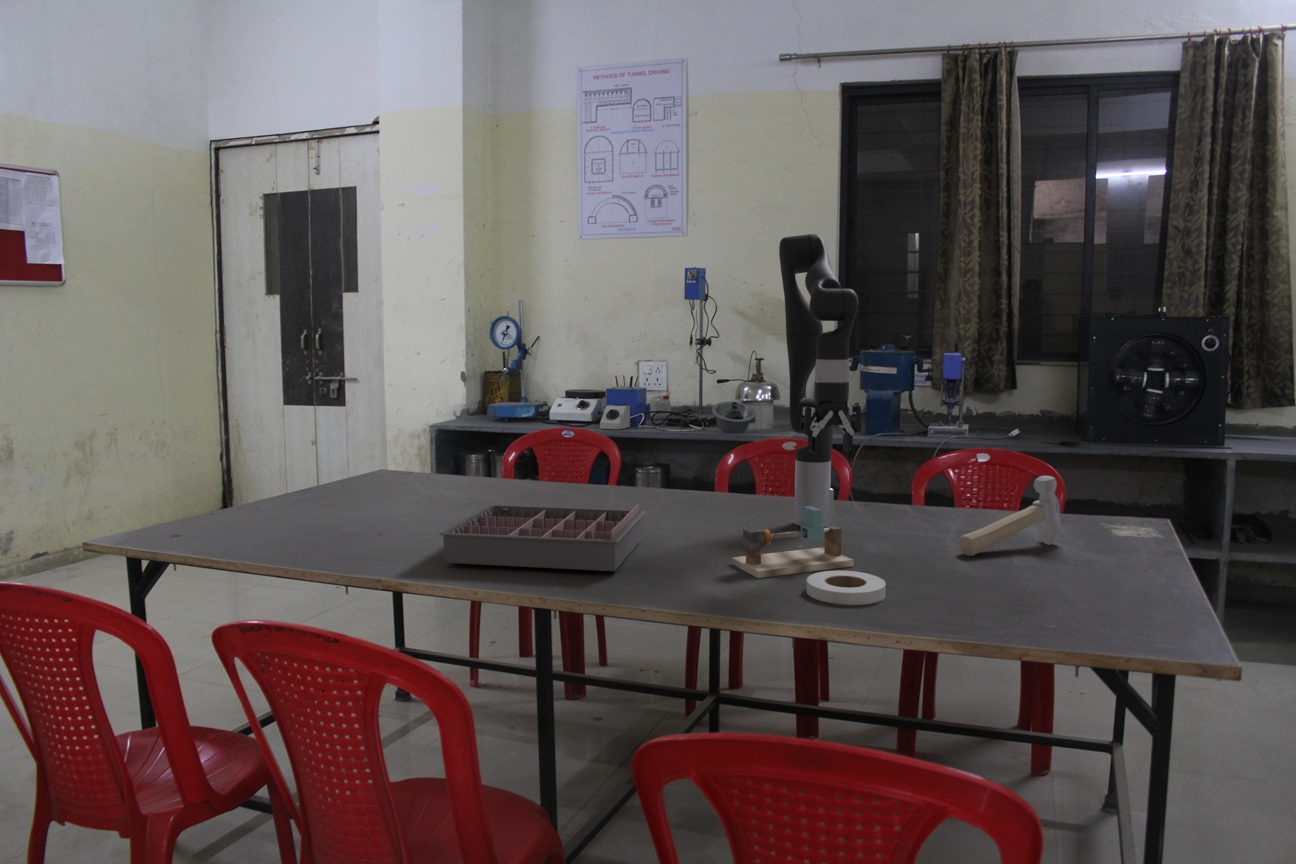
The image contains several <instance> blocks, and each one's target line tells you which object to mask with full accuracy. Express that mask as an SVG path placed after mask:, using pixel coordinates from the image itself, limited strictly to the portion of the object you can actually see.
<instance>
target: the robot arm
mask: <svg viewBox="0 0 1296 864" xmlns="http://www.w3.org/2000/svg"><path fill="white" fill-rule="evenodd" d="M778 250H779V251H778V253H779V265H780V274H781V282H782V288H783V296H784V297H783V298H784V310H785V311H784V312H785V313H784V314H785V335H786V347H787V348H786V349H787V358H788V359H787V360H788V371H789V422H790V426H791V429H792V431H793V432H795V433H797V434H802V435H806V436H807V445H804V446H801V447H798V448H797V449H795V454H794V455H795V457H794V458H795V459H794V460H795V461H794V463H795V464H794V465H795V466H794V509H793V510H794V511H793V513H794V514H793V515H794V517H793V521H794V522H793V524H794V525H796V526H798V527H801V524H803V508H804V507H808V506H812V507H815V508H818V509H821V510H822V525H823V526H824V528H825V526H831V525H833V526H834V493H835V491H834V489H833V488H831V481H832V480H831V478H832V476H831V474H832V451H833V445H834V444H833V440H834V439H833V438H834V427H835V426H836V427H839V428H840V429H841V430H842V433H843V434H842V451H843V452H845V453H850V452H851V450H853V444H854V442H853V441H854V440H853V439H854V437H853V436H854V434H857V433H860V432H861V431H862V413H861V411H862V410H861V409H862V408H861V406H860V405H858V404H857V405H856V404H851V405H848V402H849V398H850V397H849V396H850V364H849V359H850V358H849V356H850V339H851V334H852V329H853V326H854V323H855V320H856V317H857V313H858V309H859V304H860V302H859V298H858V294H857V293H856V292H855V290H853V289H851V288H842V286H841V284H840V283H841V282H839V280H838V279H837V277H836V275H835V273H834V271H833V269H832V264H831V260H830V257H829V253H828V250H827V247H826V244H825V241H824V239H823V238H822V236H820V235H819V234H817V233H816V234H815V233H809V234H802V235H795V236H794V235H792V236H785V237H782V238H781V239H780V241H779V247H778ZM805 273H806V275H805V277H804V278H805V279H804V284H805V288H806V291H807V292H808V294H809V296H810V299H809V302H808V301H807V299H806V298H805V296H804V295H803V293H802V292H801V290H800V288H799V286H798V282H797V280H796V275H797V274H805ZM823 322H839V323H838V325H837V326H836V328H835V329H832V330H829V331H828V330H827V331H825V332H824V330H823V329H824V327H823V326H824V325H823ZM813 371H814V390H813V391H814V393H813V394H814V395H813V398H807V385H808V382H809V381H808V380H809V379H810V376H811V374H812V372H813ZM847 415H849V416H850V421H849V420H848V418H847Z"/></svg>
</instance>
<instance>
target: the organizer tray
mask: <svg viewBox="0 0 1296 864" xmlns="http://www.w3.org/2000/svg"><path fill="white" fill-rule="evenodd" d="M646 513H647V511H646V510H640V503H637V504H636V505H635V506H634V507H633V508H632V509H609V508H585V507H582V508H581V507H560V506H559V507H555V506H554V507H553V506H533V505H532V506H531V505H530V506H529V505H509V504H507V505H506V504H505V505H503V504H490V505H488V506H486V507H484V508H483V509H481V510H479V511H477V512H475V513H474V514H472V515H470V516H469V517H466V518H465V519H463V520H462V521H459V522H458V523H456V524H454V525H453V526H451V527H449V528H447V529H445V530H444V531H442V532H440V533H439V536H442V537H443V563H444V564H445V563H447V564H464V565H465V564H466V565H485V566H503V567H505V566H506V567H523V568H525V567H526V568H543V569H544V568H545V569H564V570H565V569H566V570H580V571H582V570H583V571H585V570H586V571H605V572H606V571H607V572H616V571H617V570H618V568H619V567H620V566H621V565H622V563H623V562H624V561H625V560H626V558H628V557H629V555H630V553H632V551H633V550H634V549H635V548H636V546H637V545H638V544H639V542H641V541H642V539H643V531H644V530H643V529H644V528H643V526H644V524H643V523H644V521H643V520H644V518H643V517H644V515H645V514H646Z"/></svg>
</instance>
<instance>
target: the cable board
mask: <svg viewBox="0 0 1296 864" xmlns="http://www.w3.org/2000/svg"><path fill="white" fill-rule="evenodd" d="M842 530H843V529H842V527H838V526H836V525H834V524H833V525H829V526H825V527H824V547H814V548H813V547H812V548H805V549H804V548H803V549H795V550H787V551H780V552H779V551H778V552H771V553H770V552H769V553H762V549H764V548H765V546H769V545H771V543H772V540H778V539H785V538H787V539H788V538H795V537H801V536H807V530H803V531H801V530H795V531H786V532H785V531H784V532H777V533H776V532H775V533H771V531H770V530H769V529H766V528H765V529H763V528H762V529H759V528H757V527H751V528H743V530H742V532H743V533H742V546H744V547H745V555H743V556H733V557H731V559H730V560H731V561H730V562H731V566H734V567H736V568H738V569H739V570H741V571H744V572H745V573H747V574H749V575H751V576H753V577H755V578H757V579H761V578H769V577H778V576H785V575H792V574H802V573H810V572H811V573H812V572H818V571H829V570H832V569H833V570H834V569H841V568H843V569H844V568H851V567H854V566H855V565H854V564H855V560H854V558H850V557H848V556H846V555H844V554H842Z"/></svg>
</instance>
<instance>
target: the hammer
mask: <svg viewBox="0 0 1296 864" xmlns="http://www.w3.org/2000/svg"><path fill="white" fill-rule="evenodd" d="M1057 485H1058V482H1057V480H1056V477H1054V476H1052V475H1040V476H1038V477H1037V478H1036V479H1034V483H1033V488H1034V489H1035V492H1036V493H1039V497H1038V499H1037V500H1035V501H1033V502H1032V504H1031V505H1029V506H1027V507H1026V508H1024V509H1021V510H1019V511H1017V512H1014V513H1011V514H1010V515H1008V516H1006V517H1003V518H1001V519H999V520H996V521H995V522H992V523H990V524H988V525H986V526H984V527H982V528H980V529H977V530H974V531H971V532H968V533H966V534H963V535H960V536H959V540H958V545H959V548H960V550H961V553H962V554H964V555H965V556H967V557H972V556H976V555H977V554H980V553H981V552H983V551H984V550H987V549H989V548H990V547H992V546H995V545H997V544H1000V543H1001V542H1004V541H1006V540H1007V539H1009V538H1011V537H1012V536H1014V535H1016V534H1017V533H1019V532H1021V531H1023V530H1025V529H1027V528H1029V527H1030V526H1032V525H1035V524H1036V523H1039V522H1040V525H1039V529H1038V530H1039V531H1038V535H1037V537H1036V539H1035V542H1037V543H1043V544H1045V545H1049V546H1051V545H1052V543H1053V542H1054V541H1055V540H1056V538H1057V536H1058V534H1059V532H1060V526H1061V525H1060V524H1061V518H1062V516H1061V504H1060V500H1059V498H1058V496H1056V490H1057Z"/></svg>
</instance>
